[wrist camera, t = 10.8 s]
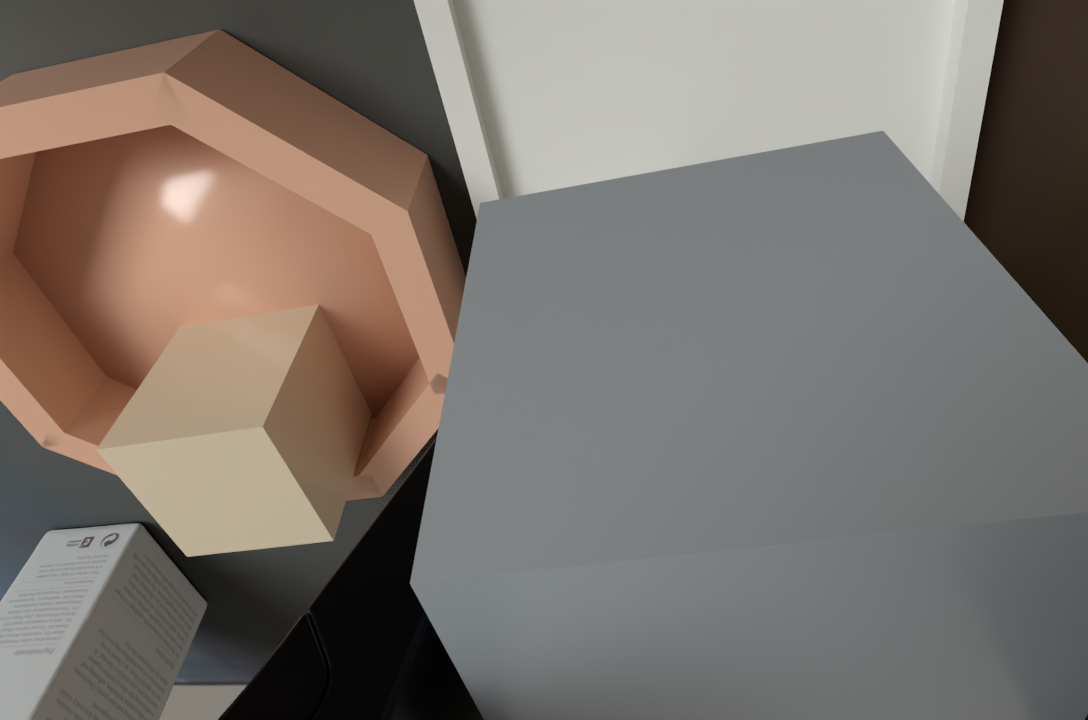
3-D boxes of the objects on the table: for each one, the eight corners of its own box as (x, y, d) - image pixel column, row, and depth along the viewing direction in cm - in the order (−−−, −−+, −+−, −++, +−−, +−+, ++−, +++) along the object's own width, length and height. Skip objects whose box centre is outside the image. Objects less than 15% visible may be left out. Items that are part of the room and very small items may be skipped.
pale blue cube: (883, 130, 8) (1207, 498, 4) (856, 425, 10) (1031, 814, 7) (480, 203, 8) (409, 582, 4) (553, 463, 11) (550, 840, 7)
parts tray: (1030, -312, 13) (1060, -316, 12) (906, 459, 25) (916, 482, 24) (382, -150, 15) (371, -146, 14) (563, 497, 27) (563, 519, 26)
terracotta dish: (376, -6, 16) (345, 33, 14) (509, 413, 24) (503, 482, 22) (-121, 103, 18) (-222, 153, 16) (155, 459, 26) (114, 527, 24)
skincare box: (44, 527, 29) (-203, 888, 20) (143, 518, 28) (-63, 885, 19) (124, 611, 33) (-51, 948, 23) (213, 605, 32) (69, 947, 23)
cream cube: (318, 304, 21) (262, 426, 17) (371, 413, 24) (333, 540, 20) (180, 326, 22) (95, 449, 18) (247, 430, 24) (186, 556, 21)
